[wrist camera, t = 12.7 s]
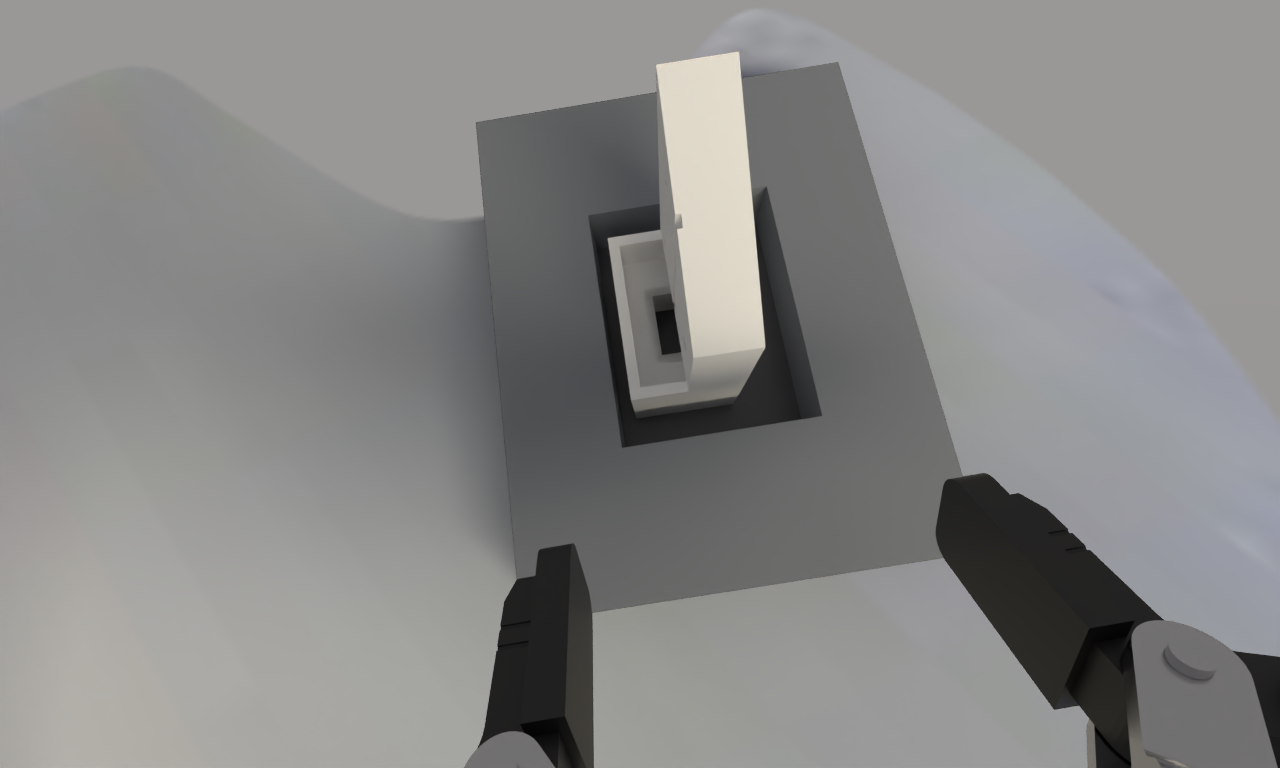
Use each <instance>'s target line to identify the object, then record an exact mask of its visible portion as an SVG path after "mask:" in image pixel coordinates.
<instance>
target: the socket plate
mask: <svg viewBox="0 0 1280 768" xmlns="http://www.w3.org/2000/svg"><path fill="white" fill-rule="evenodd" d="M741 80H742V91H743V103H744V114H745V125H746V136H747V147H748V158H749V169H750V180H751V192H752V203H753V214H754V225H755V236H756V247H757V258H758V269H759V281H760V292H761V303H762V314H763V325H764V336H765V349H764V351H763V352H762V354H761V356H760V358H759V360H758V361H757V363H756V365H755V367H754V369H753V370H752V372H751V374H750V376H749V378H748V379H747V381H746V383H745V385H744V386H743V388H742V390H741V392H740V394H739V395H738V397H737V399H736V401H735V403H734V404H729V405H723V406H716V407H710V408H703V409H697V410H690V411H683V412H677V413H670V414H664V415H657V416H651V417H644V418H636V415H635V412H634V409H633V405H632V402H631V397H630V390H629V383H628V376H627V369H626V362H625V355H624V348H623V341H622V335H621V328H620V321H619V314H618V307H617V300H616V293H615V286H614V279H613V272H612V265H611V258H610V251H609V244H608V238H611V237H618V236H624V235H631V234H637V233H643V232H650V231H656V230H660V197H659V158H658V120H657V92H655V93H649V94H643V95H637V96H631V97H626V98H620V99H614V100H607V101H601V102H596V103H590V104H583V105H577V106H572V107H565V108H559V109H554V110H547V111H542V112H535V113H529V114H523V115H518V116H511V117H506V118H499V119H493V120H487V121H482V122H476V129H477V139H478V151H479V163H480V172H481V173H480V174H481V185H482V196H483V207H484V218H485V230H486V241H487V252H488V263H489V274H490V285H491V297H492V308H493V319H494V330H495V341H496V352H497V363H498V375H499V386H500V397H501V408H502V419H503V430H504V442H505V453H506V464H507V475H508V486H509V497H510V509H511V520H512V531H513V542H514V553H515V564H516V575H517V579H520V578H526V577H531V576H535V574H536V565H537V556H538V551H539V550H540V549H543V548H549V547H554V546H560V545H566V544H572V543H574V545H575V547H576V550H577V553H578V556H579V559H580V563H581V566H582V569H583V573H584V576H585V579H586V582H587V586H588V589H589V594H590V599H591V607H592V613H594V612H600V611H607V610H613V609H620V608H626V607H632V606H639V605H645V604H652V603H658V602H665V601H671V600H677V599H684V598H690V597H697V596H703V595H709V594H716V593H722V592H729V591H735V590H741V589H748V588H754V587H761V586H767V585H773V584H780V583H786V582H793V581H799V580H805V579H812V578H818V577H825V576H831V575H837V574H844V573H850V572H857V571H863V570H869V569H876V568H882V567H889V566H895V565H901V564H908V563H914V562H921V561H927V560H934V559H940V558H943V556H942V554H941V552H940V550H939V547H938V544H937V540H936V524H937V518H938V513H939V507H940V501H941V495H942V490H943V485H944V483H945V481H946V480H948V479H952V478H958V477H963V476H962V472H961V469H960V466H959V462H958V459H957V456H956V452H955V449H954V446H953V442H952V439H951V436H950V432H949V429H948V426H947V422H946V419H945V416H944V412H943V409H942V406H941V402H940V399H939V396H938V392H937V389H936V386H935V382H934V379H933V376H932V372H931V369H930V366H929V362H928V359H927V356H926V353H925V349H924V346H923V343H922V339H921V336H920V333H919V329H918V326H917V323H916V319H915V316H914V313H913V309H912V306H911V303H910V299H909V296H908V293H907V289H906V286H905V283H904V279H903V276H902V273H901V269H900V266H899V263H898V259H897V256H896V253H895V249H894V246H893V243H892V239H891V236H890V233H889V229H888V226H887V223H886V219H885V216H884V213H883V209H882V206H881V203H880V199H879V196H878V193H877V190H876V186H875V183H874V180H873V176H872V173H871V170H870V166H869V163H868V160H867V156H866V153H865V150H864V146H863V143H862V140H861V136H860V133H859V130H858V126H857V123H856V120H855V116H854V113H853V110H852V106H851V103H850V100H849V96H848V93H847V90H846V86H845V83H844V80H843V76H842V73H841V70H840V66H839V63H838V62H836V63H830V64H824V65H818V66H812V67H806V68H800V69H794V70H788V71H782V72H776V73H770V74H764V75H758V76H752V77H746V78H741ZM655 315H656V321H657V327H658V333H659V339H660V345H661V352H662V355H666V354H673V353H679V352H681V347H680V341H679V335H678V329H677V324H676V318H675V312H674V309H671V310H665V311H658V312H655Z"/></svg>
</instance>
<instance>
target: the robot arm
mask: <svg viewBox="0 0 1280 768" xmlns="http://www.w3.org/2000/svg"><path fill="white" fill-rule="evenodd" d="M936 540H937V544H938V547H939V550H940V552H941V554H942V556H943V558H944V559H945V561H946V562H947V563H948V565H949V566H950V568H951V569H952V570H953V572H954V573H955V574H956V576H957V577H958V578H959V580H960V581H961V583H962V584H963V585H964V587H965V588H966V589H967V591H968V592H969V594H970V595H971V596H972V598H973V599H974V600H975V602H976V603H977V605H978V606H979V607H980V609H981V610H982V611H983V613H984V614H985V615H986V617H987V618H988V620H989V621H990V622H991V624H992V625H993V626H994V628H995V629H996V631H997V632H998V633H999V635H1000V636H1001V637H1002V639H1003V640H1004V642H1005V643H1006V644H1007V646H1008V647H1009V648H1010V650H1011V651H1012V652H1013V654H1014V655H1015V657H1016V658H1017V659H1018V661H1019V662H1020V663H1021V665H1022V666H1023V668H1024V669H1025V670H1026V672H1027V673H1028V674H1029V676H1030V677H1031V679H1032V680H1033V681H1034V683H1035V684H1036V685H1037V687H1038V688H1039V689H1040V691H1041V692H1042V694H1043V695H1044V696H1045V698H1046V699H1047V700H1048V702H1049V703H1050V705H1051V706H1052V707H1053V709H1054V710H1055V709H1061V708H1067V707H1073V706H1078V705H1079V706H1080V707H1081V708H1082V710H1083V711H1084V712H1085V713H1086V715H1087V716H1088V717H1089V721H1088V724H1087V730H1086V734H1087V762H1088V768H1280V657H1276V656H1268V655H1259V654H1251V653H1243V652H1236V651H1232V650H1230V649H1229V648H1228V647H1227V646H1225V645H1224V644H1223V643H1221V642H1220V641H1218V640H1217V639H1215V638H1213V637H1212V636H1210V635H1208V634H1206V633H1204V632H1202V631H1200V630H1198V629H1195V628H1193V627H1190V626H1187V625H1184V624H1180V623H1176V622H1172V621H1165V620H1163V619H1162V618H1161V617H1160V616H1159V615H1158V614H1156V613H1155V612H1154V611H1153V610H1152V609H1151V608H1150V607H1149V606H1148V605H1147V604H1146V603H1145V602H1144V601H1143V600H1142V599H1141V598H1140V597H1139V596H1137V595H1136V594H1135V593H1134V592H1133V591H1132V590H1131V589H1130V588H1129V587H1128V586H1127V585H1126V584H1125V583H1124V582H1123V581H1122V580H1121V579H1120V578H1119V577H1118V576H1117V575H1115V574H1114V573H1113V572H1112V571H1111V570H1110V569H1109V568H1108V567H1107V566H1106V565H1105V564H1104V563H1103V562H1102V561H1101V560H1100V559H1099V558H1098V557H1097V556H1096V555H1095V554H1094V553H1092V552H1091V551H1090V550H1087V549H1086V547H1085V545H1084V544H1083V543H1082V542H1081V541H1080V540H1079V539H1078V538H1077V537H1076V536H1075V535H1074V534H1073V533H1069V532H1068V529H1067V528H1066V527H1065V526H1064V525H1063V524H1062V523H1061V522H1060V521H1059V520H1058V519H1057V518H1056V517H1055V516H1054V515H1053V514H1052V513H1051V512H1050V511H1048V510H1047V509H1046V508H1044V507H1043V506H1041V505H1039V504H1037V503H1035V502H1034V501H1032V500H1030V499H1028V498H1026V497H1025V496H1023V495H1021V494H1019V493H1017V494H1011V495H1010V494H1009V493H1008V492H1007V491H1006V490H1005V489H1004V488H1003V487H1002V486H1001V485H1000V484H999V483H998V482H997V481H996V480H995V479H994V478H993V477H991V476H990V475H988V474H986V473H981V474H975V475H970V476H964V477H958V478H952V479H948V480H946V481H945V483H944V485H943V490H942V495H941V501H940V507H939V513H938V518H937V524H936ZM497 646H498V651H497V652H496V658H495V664H494V671H493V677H492V684H491V690H490V696H489V703H488V709H487V716H486V722H485V728H484V732H483V736H482V739H481V741H480V744H479V746H478V748H477V750H476V751H475V752H474V753H473V755H472V756H471V757H470V758H469V760H468V762H467V763H466V765H465V767H464V768H594V746H593V630H592V607H591V599H590V594H589V589H588V586H587V582H586V579H585V576H584V573H583V569H582V566H581V563H580V559H579V556H578V553H577V550H576V547H575V545H574V543H572V544H566V545H560V546H554V547H549V548H543V549H540V550H539V551H538V556H537V565H536V574H535V576H531V577H526V578H520V579H517V581H516V582H515V584H514V586H513V587H512V589H511V591H510V593H509V594H508V596H507V598H506V600H505V601H504V607H503V613H502V620H501V631H500V633H499V639H498V645H497Z"/></svg>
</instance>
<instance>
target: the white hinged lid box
mask: <svg viewBox="0 0 1280 768" xmlns="http://www.w3.org/2000/svg"><path fill="white" fill-rule="evenodd" d="M656 78H657V79H656V80H657V120H658V158H659V197H660V230H656V231H650V232H643V233H637V234H631V235H624V236H618V237H611V238H608V244H609V251H610V258H611V265H612V272H613V279H614V286H615V293H616V300H617V307H618V314H619V321H620V328H621V335H622V341H623V348H624V355H625V362H626V369H627V376H628V383H629V390H630V397H631V402H632V405H633V409H634V412H635V415H636V418H644V417H651V416H657V415H664V414H670V413H677V412H683V411H690V410H697V409H703V408H710V407H716V406H723V405H729V404H734V403H735V401H736V399H737V397H738V395H739V394H740V392H741V390H742V388H743V386H744V385H745V383H746V381H747V379H748V378H749V376H750V374H751V372H752V370H753V369H754V367H755V365H756V363H757V361H758V360H759V358H760V356H761V354H762V352H763V351H764V349H765V336H764V325H763V314H762V303H761V292H760V281H759V269H758V258H757V247H756V236H755V225H754V214H753V203H752V192H751V180H750V169H749V158H748V147H747V136H746V125H745V114H744V103H743V91H742V80H741V69H740V58H739V52H733V53H727V54H721V55H714V56H708V57H702V58H696V59H689V60H683V61H677V62H671V63H665V64H658V65H656ZM671 309H674V312H675V318H676V324H677V329H678V335H679V341H680V347H681V352H679V353H673V354H666V355H662V352H661V345H660V339H659V333H658V327H657V321H656V315H655V312H658V311H665V310H671Z"/></svg>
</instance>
